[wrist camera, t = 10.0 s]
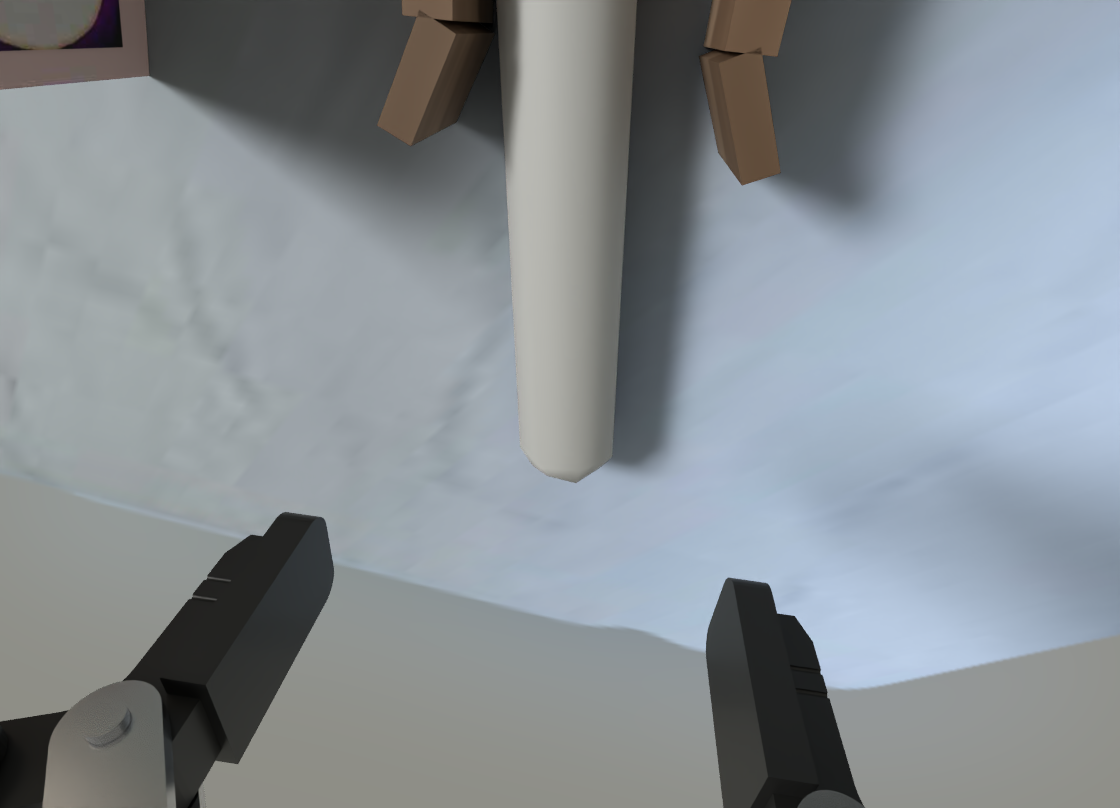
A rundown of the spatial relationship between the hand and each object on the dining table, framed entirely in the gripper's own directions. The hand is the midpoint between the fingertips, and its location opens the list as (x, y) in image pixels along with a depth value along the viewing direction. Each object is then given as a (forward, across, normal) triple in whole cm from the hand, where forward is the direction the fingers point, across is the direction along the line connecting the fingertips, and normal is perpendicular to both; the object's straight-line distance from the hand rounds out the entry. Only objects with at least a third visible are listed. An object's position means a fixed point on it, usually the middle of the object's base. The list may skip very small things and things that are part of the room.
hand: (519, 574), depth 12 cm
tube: (+19, +1, -2) cm, 19 cm away
